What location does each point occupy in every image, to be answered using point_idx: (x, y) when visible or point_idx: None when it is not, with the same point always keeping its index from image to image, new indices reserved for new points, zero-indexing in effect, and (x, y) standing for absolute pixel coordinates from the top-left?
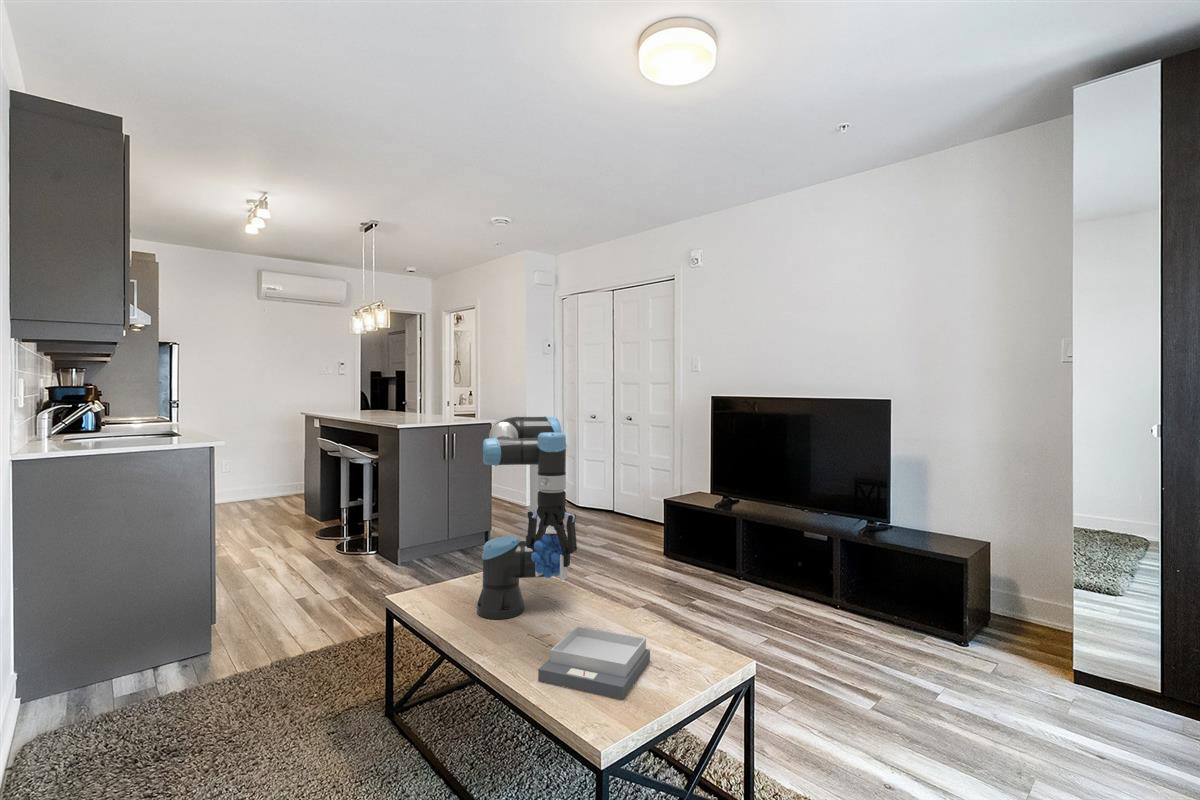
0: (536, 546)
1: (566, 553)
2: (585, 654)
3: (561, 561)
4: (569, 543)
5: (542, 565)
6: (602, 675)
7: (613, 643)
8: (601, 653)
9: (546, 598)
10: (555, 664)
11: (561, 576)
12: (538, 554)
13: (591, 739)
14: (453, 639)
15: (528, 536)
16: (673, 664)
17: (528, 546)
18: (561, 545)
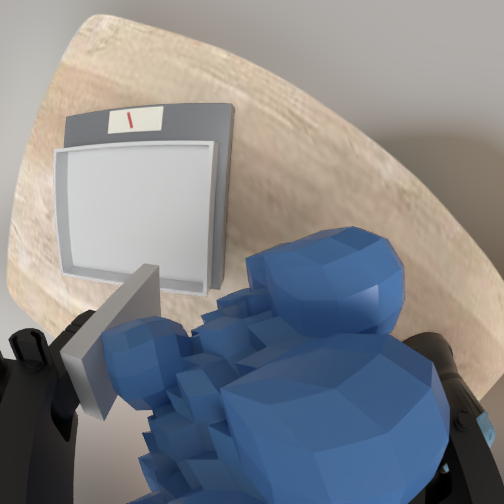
0: (382, 364)
1: (20, 353)
2: (152, 196)
3: (94, 322)
4: None
5: (263, 279)
6: (101, 135)
7: (122, 268)
8: (125, 214)
9: None
10: (202, 136)
11: (141, 272)
12: (305, 292)
13: (102, 19)
14: (460, 235)
15: (494, 492)
16: (53, 261)
17: (459, 418)
18: (22, 424)
